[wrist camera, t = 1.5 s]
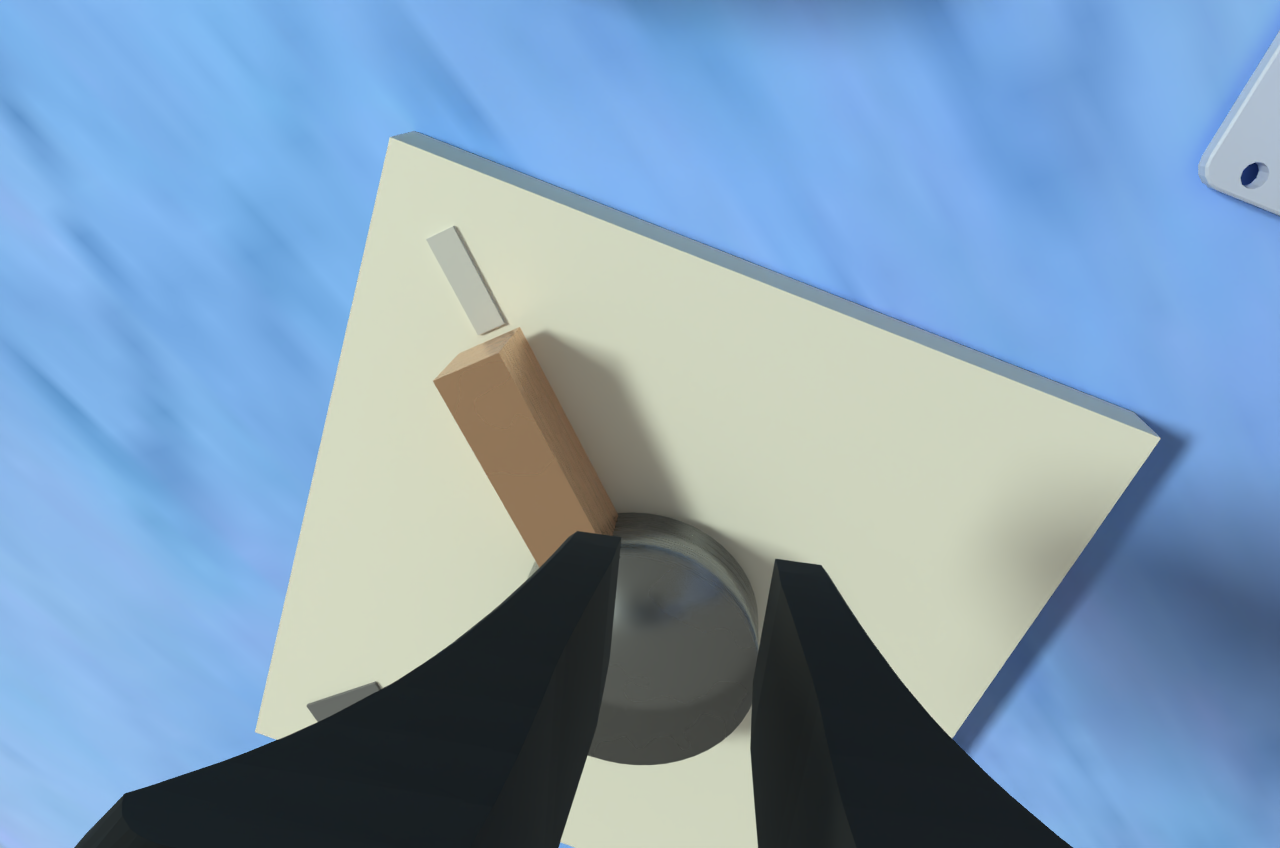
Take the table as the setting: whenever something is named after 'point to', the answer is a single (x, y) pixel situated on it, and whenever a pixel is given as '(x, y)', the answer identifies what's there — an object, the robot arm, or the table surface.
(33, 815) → the table surface
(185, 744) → the table surface
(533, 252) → the base
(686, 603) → the twist handle
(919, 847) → the robot arm
